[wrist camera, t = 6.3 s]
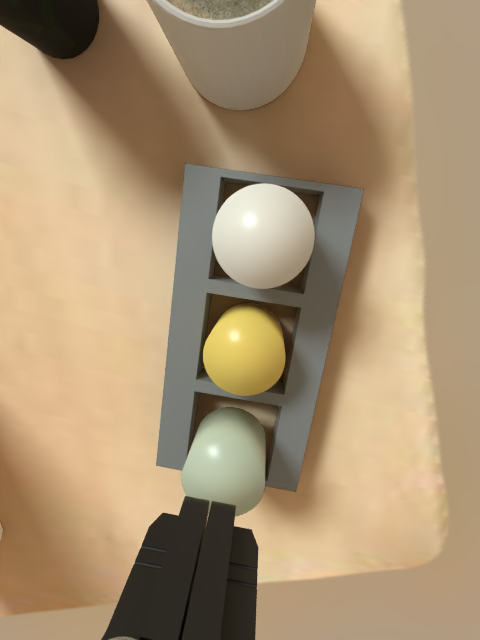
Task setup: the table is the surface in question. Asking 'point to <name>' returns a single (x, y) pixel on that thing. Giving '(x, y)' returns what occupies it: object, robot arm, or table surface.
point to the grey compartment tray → (312, 300)
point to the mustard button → (245, 350)
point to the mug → (237, 46)
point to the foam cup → (1, 531)
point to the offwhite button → (263, 236)
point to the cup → (52, 24)
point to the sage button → (227, 460)
